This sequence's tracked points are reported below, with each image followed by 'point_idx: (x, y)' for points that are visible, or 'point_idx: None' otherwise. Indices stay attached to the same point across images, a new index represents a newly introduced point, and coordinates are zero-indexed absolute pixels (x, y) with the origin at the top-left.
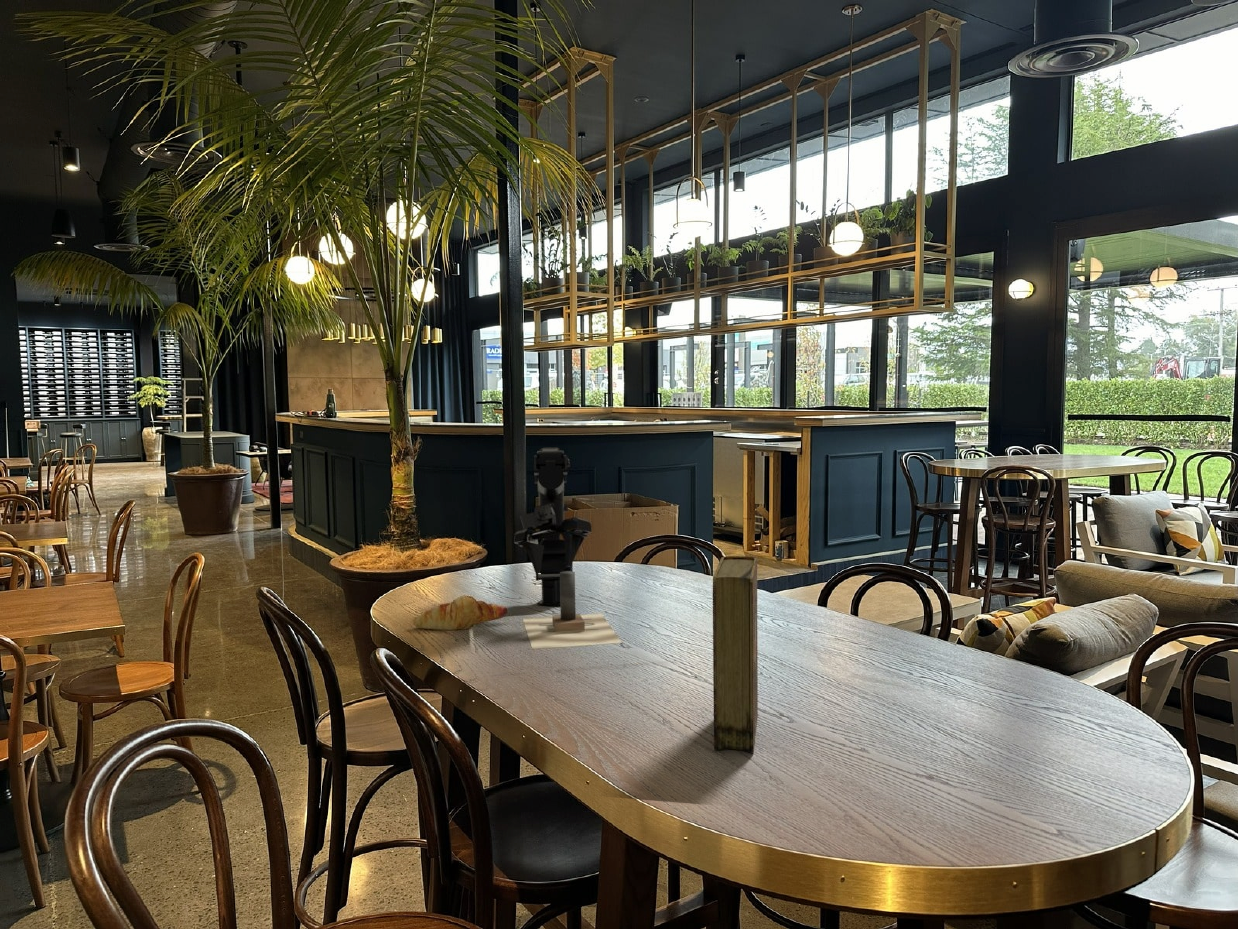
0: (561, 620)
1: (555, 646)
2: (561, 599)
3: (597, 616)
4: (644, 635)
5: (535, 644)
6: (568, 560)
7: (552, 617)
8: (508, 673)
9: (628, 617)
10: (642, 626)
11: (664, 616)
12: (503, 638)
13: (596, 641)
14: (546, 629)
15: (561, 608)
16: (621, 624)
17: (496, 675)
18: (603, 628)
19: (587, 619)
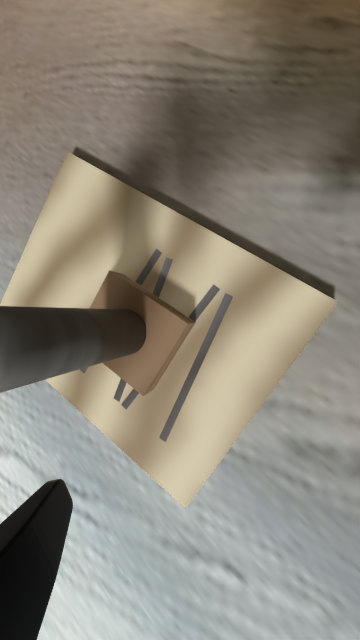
0: (124, 304)
1: (50, 205)
2: (86, 308)
3: (169, 473)
4: (23, 424)
5: (88, 176)
6: (11, 516)
7: (187, 322)
8: (23, 61)
9: (142, 541)
10: (66, 482)
11: (88, 591)
12: (229, 161)
13: (22, 297)
14: (168, 276)
15: (108, 309)
16: (109, 471)
17: (28, 35)
18: (77, 385)
19: (165, 429)
